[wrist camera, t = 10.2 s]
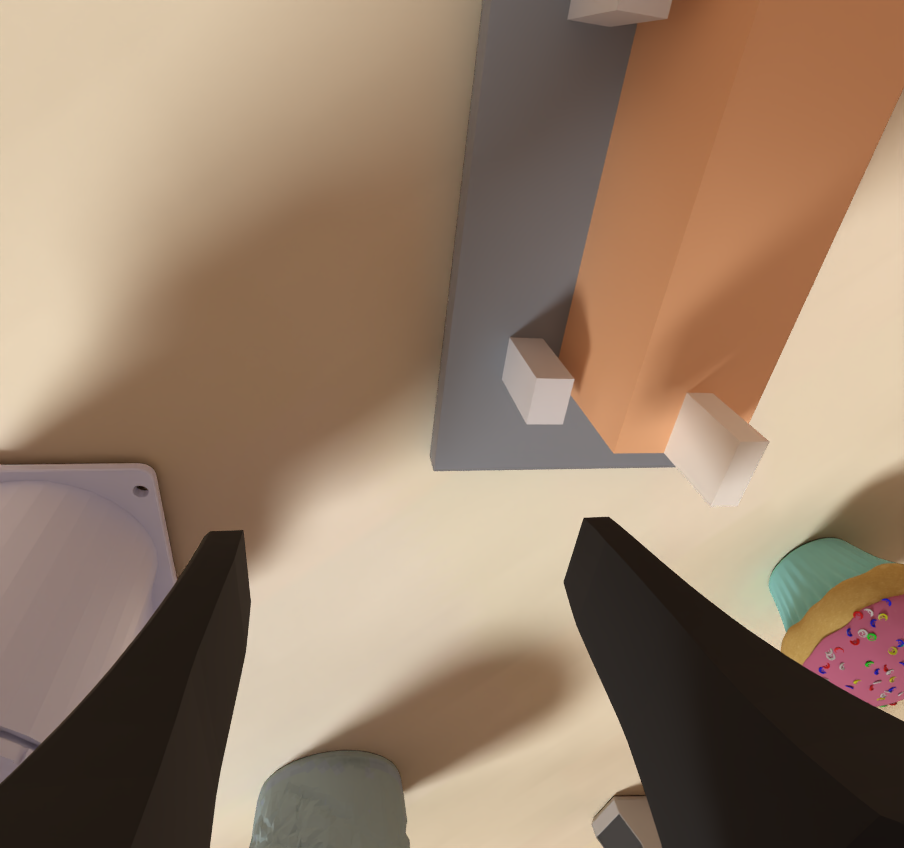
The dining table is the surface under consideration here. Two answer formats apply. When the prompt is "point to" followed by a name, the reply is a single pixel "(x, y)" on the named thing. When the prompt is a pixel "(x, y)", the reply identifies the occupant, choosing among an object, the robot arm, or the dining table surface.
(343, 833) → the drinking glass
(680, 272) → the long tan brick
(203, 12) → the dining table surface
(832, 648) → the cupcake
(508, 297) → the grey pegged plate
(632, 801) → the vintage mobile phone
